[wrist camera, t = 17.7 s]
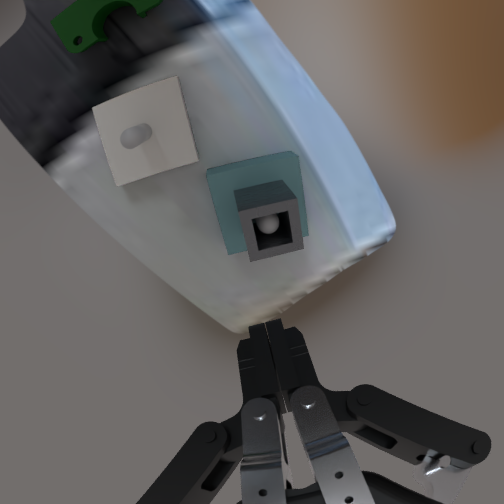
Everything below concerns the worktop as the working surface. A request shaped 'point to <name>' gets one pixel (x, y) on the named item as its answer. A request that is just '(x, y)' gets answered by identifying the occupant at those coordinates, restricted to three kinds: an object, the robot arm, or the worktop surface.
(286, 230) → the metal collar
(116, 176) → the rod stand
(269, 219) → the block
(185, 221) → the worktop surface
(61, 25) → the clamp
